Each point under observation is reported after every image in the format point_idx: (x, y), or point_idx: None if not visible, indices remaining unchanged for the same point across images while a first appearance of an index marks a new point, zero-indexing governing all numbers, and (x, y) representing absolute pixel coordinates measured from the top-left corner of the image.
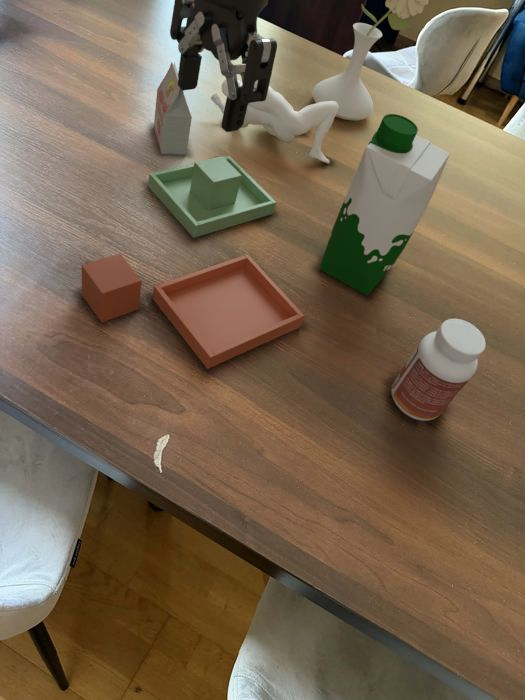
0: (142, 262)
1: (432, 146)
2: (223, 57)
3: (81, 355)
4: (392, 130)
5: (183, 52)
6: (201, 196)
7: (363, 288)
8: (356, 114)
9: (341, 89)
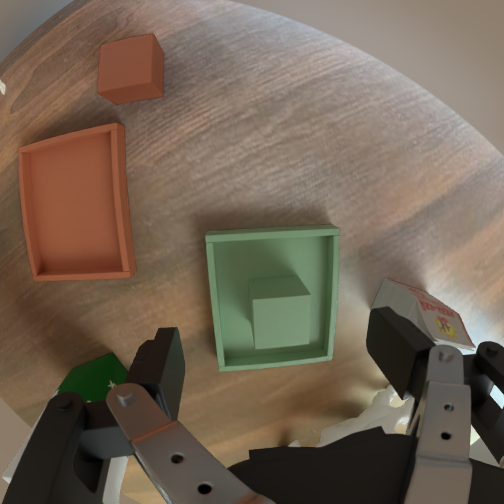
0: (186, 139)
1: None
2: (175, 474)
3: (94, 38)
4: None
5: (430, 353)
6: (270, 281)
7: (72, 370)
8: None
9: None
